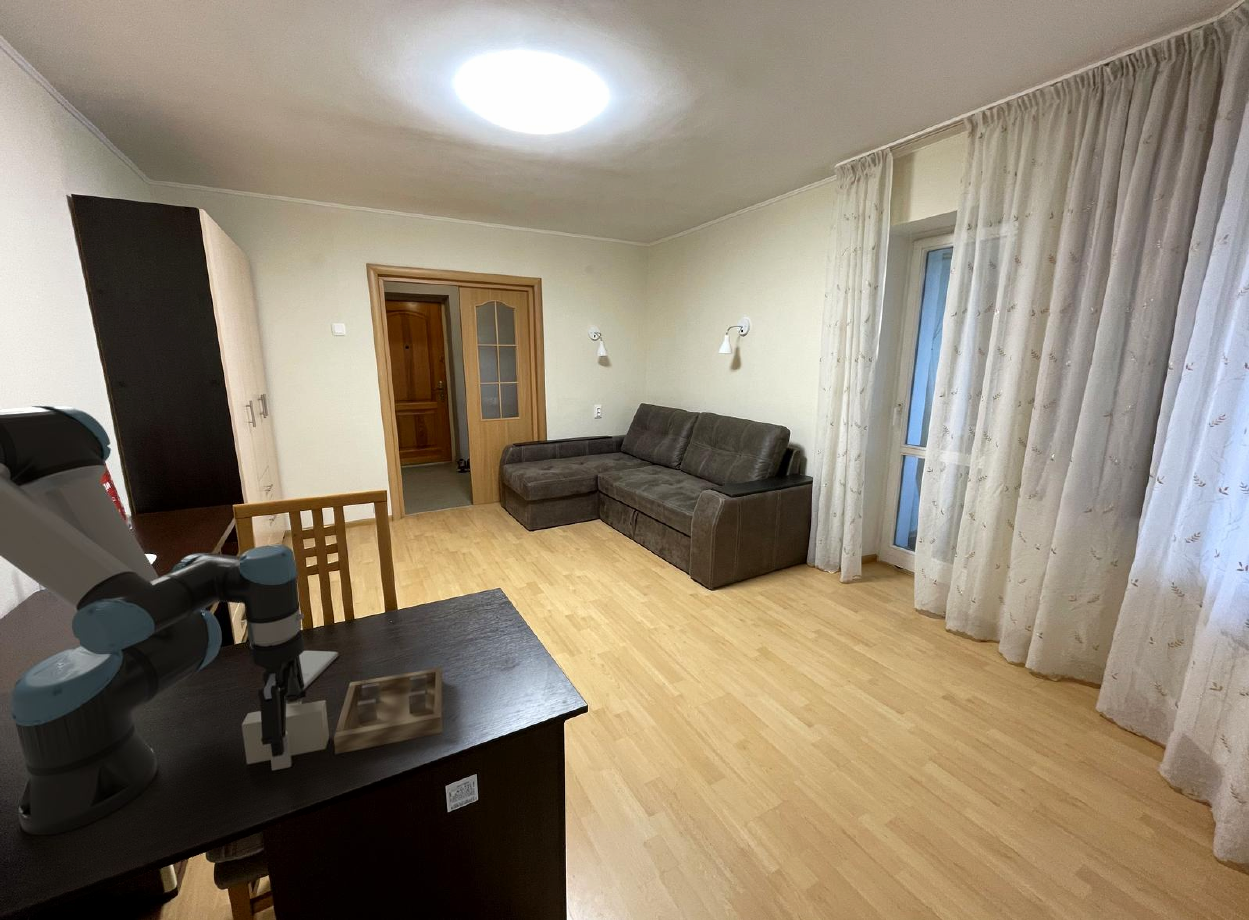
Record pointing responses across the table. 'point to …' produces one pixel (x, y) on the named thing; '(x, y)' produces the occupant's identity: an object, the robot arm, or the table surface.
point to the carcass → (390, 710)
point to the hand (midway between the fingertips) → (289, 748)
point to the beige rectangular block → (289, 731)
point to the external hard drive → (314, 664)
